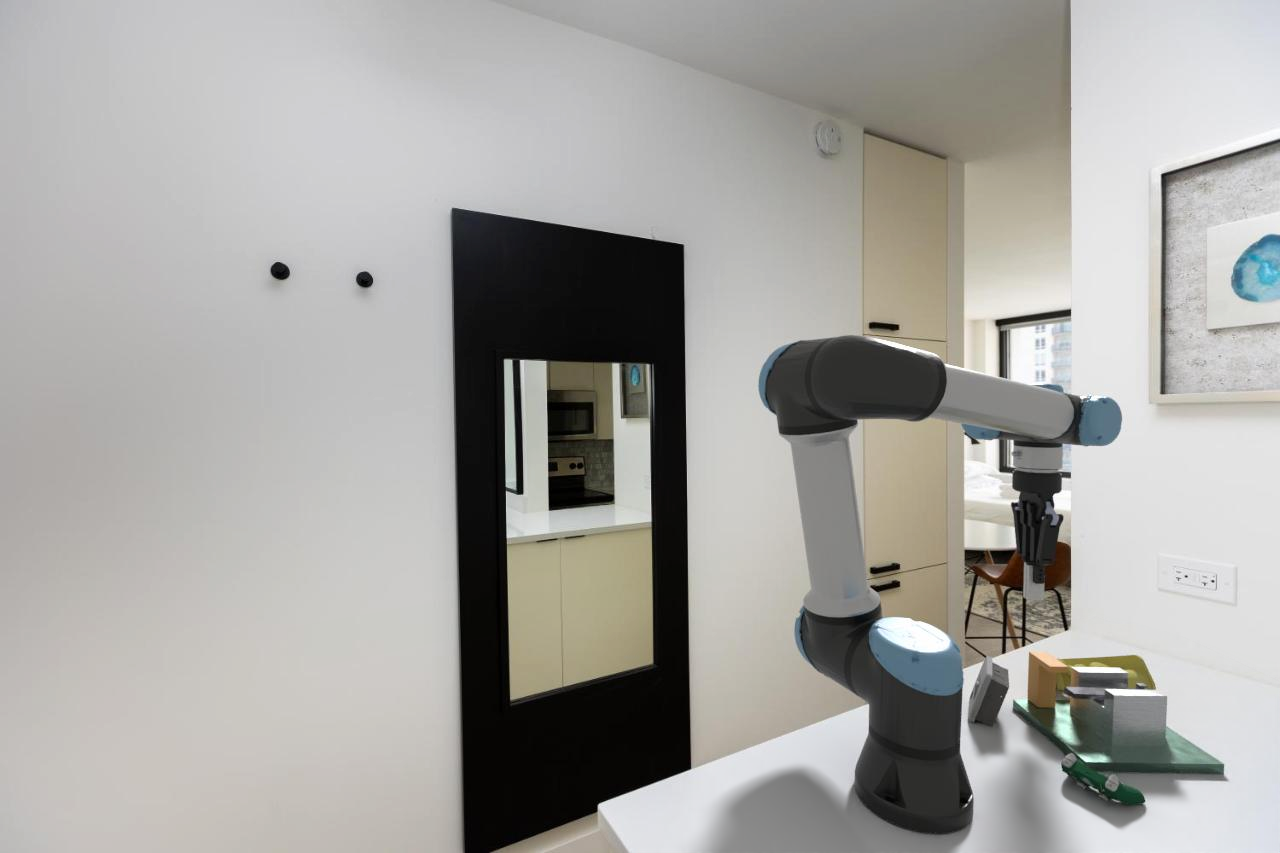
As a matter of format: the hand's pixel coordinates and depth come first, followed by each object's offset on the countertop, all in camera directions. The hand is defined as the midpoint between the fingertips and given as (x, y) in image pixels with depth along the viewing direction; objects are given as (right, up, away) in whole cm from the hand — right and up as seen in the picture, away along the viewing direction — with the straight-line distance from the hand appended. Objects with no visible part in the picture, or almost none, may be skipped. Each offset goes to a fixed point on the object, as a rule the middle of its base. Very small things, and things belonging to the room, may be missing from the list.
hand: (1033, 598), depth 114 cm
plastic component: (+14, -19, +6) cm, 24 cm away
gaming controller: (-7, -21, -25) cm, 33 cm away
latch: (-1, -18, -5) cm, 18 cm away
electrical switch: (-11, -19, -4) cm, 23 cm away
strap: (+5, -13, -12) cm, 18 cm away
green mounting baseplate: (+5, -19, -12) cm, 23 cm away
